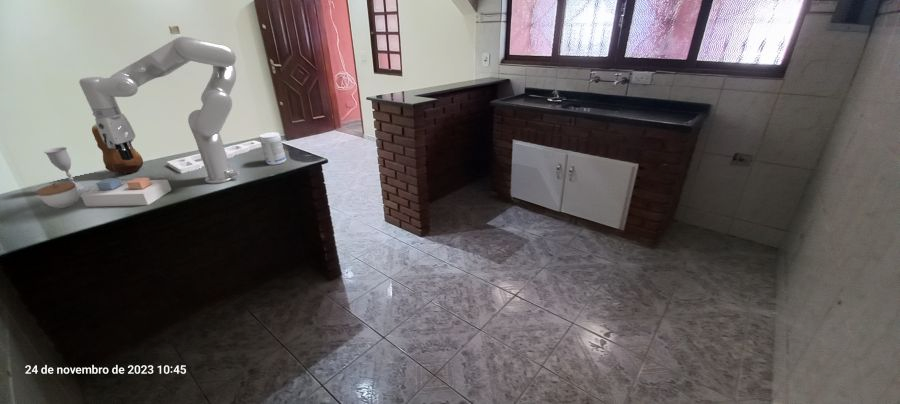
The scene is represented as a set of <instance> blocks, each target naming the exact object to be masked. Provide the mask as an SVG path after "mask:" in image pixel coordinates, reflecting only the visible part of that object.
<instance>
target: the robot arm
mask: <svg viewBox="0 0 900 404" xmlns="http://www.w3.org/2000/svg"><path fill="white" fill-rule="evenodd" d="M236 61H237V56H236V54H235V52H234V51H233V49H232V48H230V47H229V46H226V45H223V44H219V43H214V42H209V41H205V40H201V39H198V38H194V37H193V38H192V37H188V36H180V37H176V38H175V39H172V40H171V41H170V42H167V43H166V44H164V45H162V46H161V47H159V48H158V49H155V50H154V51H152V52H150V53H147V55H145V56H143V57H141V58H140V59H138V60H137V61H135V62H133V63H131V64H129V65H127V66H126V67H124V68H122V69H120V70H118V71H117V72H115V73H113V74H112V75H111V76H109V77H101V76H94V77H93V76H91V77H85V78H80V79H79V81H78V82H79V83H78V84H79V86H80V87H81V90H82V92H83V94H84V97H85V99H86V101H87V103H88V105H89V107H90V110H91V111H92V116H94V119H95V124H96V125H97V128H98V131H99V133H100V136H101V138H102V140H103V142H104V143H105V144H107V146H108V148H114V149H116V150H117V151H118V152H119V154H120V156H121V158H122V160H131V159H133V158H134V157H133V154H132V152H131V150H130V149H129V148H131V146H130V144H132V142H133V141H134V139H136V134H135V131H134V128H133V126H132V125H131V124H130V122H129V119H128V118H127V117H126V116H125V114H124V113H122V112H121V109H120V107H119V105H118V102H117V100H116V98H127V97H129V98H130V97H132V96H135V95H136V94H137V92H138V91H139V88H140V87H141V86H143V85H144V84H146V83H148V82H150V81H152V80H154V79H158V78H162V77H166V76H168V75H170V74H172V73H173V72H175V71H176V70H178V69H180V68H181V67H183V66H184V65H186V64H188V63H190V62H195V63H199V64H200V63H201V64H204V65H210V66H212V74H211V77H210V79H209V81H208V83H207V85H206V87H205V88H204V90H203V91H202V93H201V96H200V99H201V100H200V101H201V104H202V106H201V109H195V110H193V111H192V112H190V113H189V115H188V118H187V122H188V125H189V128H190V130H191V133H192V135H193V138H194V140H195V142H196V145H197V148H198V152H199V154H200V155H201V158H202V159H201V161H203V163H204V166H203V167H204V169H205V172H206V175H207V176H206V177H205V178H204V181H205V183H207V184H213V185H214V184H222V183H226V182H229V181H232V180H234V179H236V177H237V176H240V170H239V169H234V167H233V166H231V165H230V163H229V158H227V156H226V153H225V149H224V148H225V146H224V143H223V139H222V137H221V134H220V132H221V131H222V128H223V126H225V123H226V121H227V119H228V117H229V114H230V113H231V110H232V108H233V100H232V97H231V96H230V94H231V93H232V90H233V88H234V85H235V82H236V79H237V69H236V67H235V64H236Z"/></svg>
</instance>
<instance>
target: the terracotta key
mask: <svg viewBox="0 0 900 404" xmlns="http://www.w3.org/2000/svg"><path fill="white" fill-rule="evenodd" d="M150 180H151V179H150V178H149V177H135V178H133V179H130V180H128V181H129V182H127V184H128V186H129V189H144V188H146V187H147V186H149V185H151V182H150Z"/></svg>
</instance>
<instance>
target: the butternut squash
mask: <svg viewBox="0 0 900 404" xmlns="http://www.w3.org/2000/svg"><path fill="white" fill-rule="evenodd" d="M91 132H92V134H93V137H94V140H95V141H96V144H97V145H96V146H97V148H98V149H99V150H101V152H102V160H103V161H102V162H103V164H104V167H105V169H106V170H108V171H109V172H111V173H113V174H118V175H124V174H127V175H128V174H134V173H136V172H137V171H139V170H140V169H141V168H142V166H143V164H144V159H143V157H142V155H141V154H140V152H139V151H137V150H136V149H135V148H134V147H133V145H132V143H131V144H130V146H131V148H129V149H130V150H131V152H132V154H133V157H134V158H133V159H131V160H122V158H121V156H120V154H119V152H118V151H117V150H116V149H114V148H108V146H107V144H105V143H104V142H103V140H102V138H101V136H100V133H99V131H98V128H97V125H96V123H95V124H93V126H92V127H91Z"/></svg>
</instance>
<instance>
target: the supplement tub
mask: <svg viewBox="0 0 900 404" xmlns="http://www.w3.org/2000/svg"><path fill="white" fill-rule="evenodd" d="M259 142H261V145H262V147H261V149H262V152H263V155H264V158H265V159H264V160H265V163H266V164H267V165H271V166H272V165H273V166H274V165H281V164H283V163H285V162H286V161H287V156H286V153H285V150H284V145H283V141H282V138H281V134H280V133H279V132H276V131H274V132H273V131H271V132H265V133H262V134H260V135H259Z"/></svg>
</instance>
